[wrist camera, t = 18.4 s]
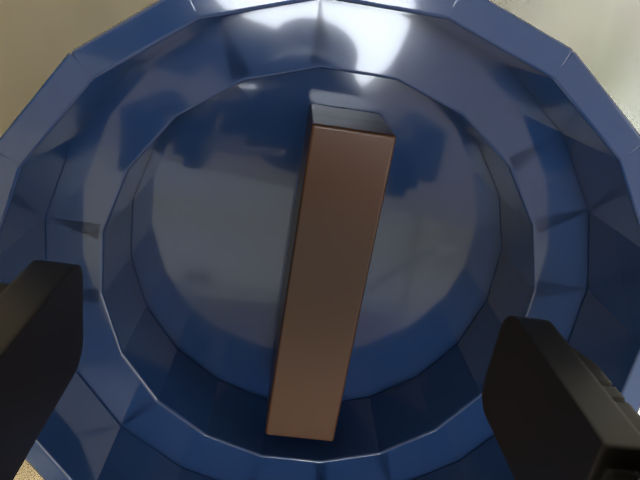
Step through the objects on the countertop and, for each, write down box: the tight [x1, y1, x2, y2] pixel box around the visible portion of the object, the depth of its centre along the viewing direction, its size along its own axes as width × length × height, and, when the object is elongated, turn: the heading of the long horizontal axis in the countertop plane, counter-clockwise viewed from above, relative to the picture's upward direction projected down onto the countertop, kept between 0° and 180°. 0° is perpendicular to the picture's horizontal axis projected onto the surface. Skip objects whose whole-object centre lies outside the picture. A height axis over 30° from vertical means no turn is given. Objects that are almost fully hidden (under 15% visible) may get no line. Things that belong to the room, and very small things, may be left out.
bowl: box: [0, 0, 640, 480], centre depth 15 cm, size 15×15×6 cm
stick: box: [265, 104, 396, 441], centre depth 16 cm, size 9×2×3 cm, turn 171°
